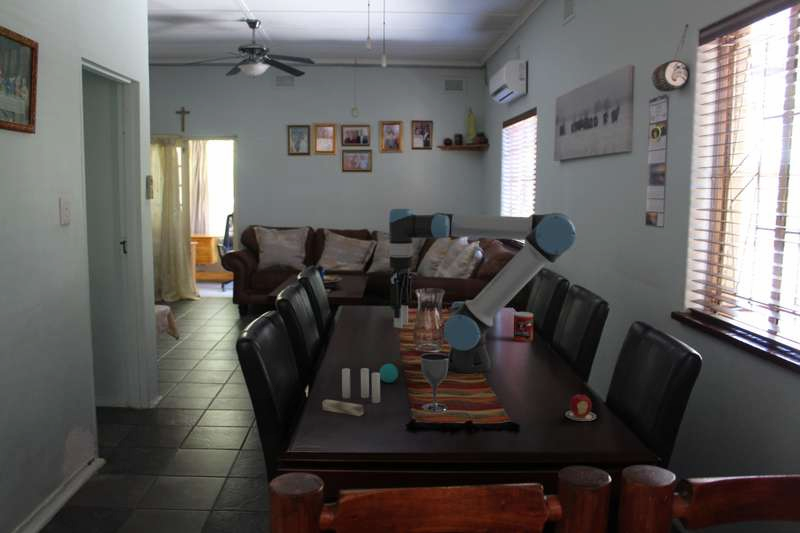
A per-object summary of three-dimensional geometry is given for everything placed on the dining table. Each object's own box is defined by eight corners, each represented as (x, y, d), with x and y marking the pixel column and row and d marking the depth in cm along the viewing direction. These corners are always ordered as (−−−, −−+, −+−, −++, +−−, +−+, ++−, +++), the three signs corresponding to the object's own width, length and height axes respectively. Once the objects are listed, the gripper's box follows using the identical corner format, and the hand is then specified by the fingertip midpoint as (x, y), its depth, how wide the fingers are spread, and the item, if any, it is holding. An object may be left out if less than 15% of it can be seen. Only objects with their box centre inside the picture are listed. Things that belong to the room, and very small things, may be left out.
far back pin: (351, 396, 195) (351, 368, 194) (347, 398, 193) (347, 371, 192) (344, 395, 196) (344, 368, 195) (340, 397, 194) (340, 370, 193)
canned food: (511, 341, 263) (512, 314, 261) (515, 337, 270) (516, 311, 269) (530, 343, 260) (531, 316, 259) (534, 338, 267) (534, 312, 266)
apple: (602, 418, 177) (603, 395, 176) (582, 424, 172) (582, 400, 171) (579, 410, 183) (580, 387, 182) (559, 415, 179) (560, 392, 178)
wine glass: (440, 414, 180) (440, 361, 178) (415, 409, 184) (415, 357, 182) (453, 406, 187) (453, 355, 185) (429, 401, 191) (429, 351, 189)
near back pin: (381, 401, 191) (381, 372, 190) (377, 403, 189) (377, 375, 188) (374, 399, 192) (374, 371, 191) (370, 402, 190) (370, 374, 189)
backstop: (363, 413, 180) (363, 405, 180) (359, 416, 179) (359, 407, 178) (326, 407, 186) (326, 399, 185) (322, 409, 184) (322, 401, 183)
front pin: (370, 396, 195) (370, 368, 194) (366, 398, 193) (366, 370, 192) (363, 395, 196) (363, 367, 195) (359, 397, 194) (359, 369, 193)
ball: (401, 380, 211) (401, 362, 210) (393, 386, 205) (392, 367, 204) (384, 378, 213) (384, 360, 212) (376, 383, 208) (375, 365, 207)
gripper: (401, 252, 222) (401, 320, 225) (378, 258, 207) (379, 330, 210) (421, 253, 219) (421, 322, 222) (400, 259, 204) (400, 332, 207)
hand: (401, 325), depth 216 cm, fingers open, 4 cm apart
